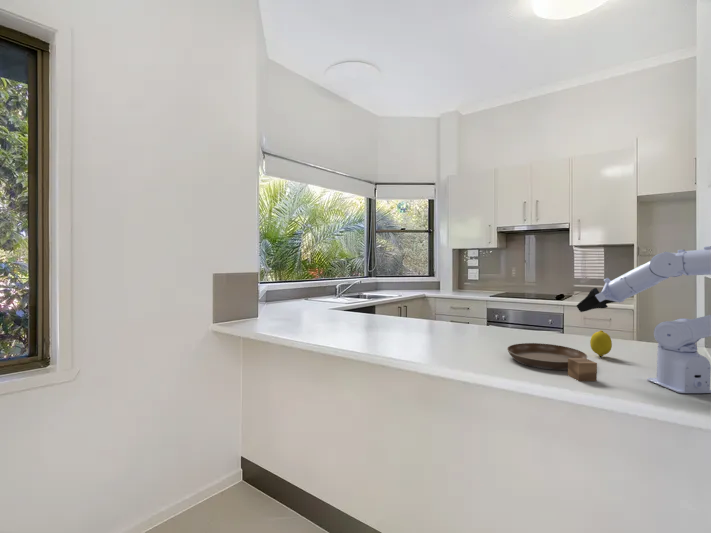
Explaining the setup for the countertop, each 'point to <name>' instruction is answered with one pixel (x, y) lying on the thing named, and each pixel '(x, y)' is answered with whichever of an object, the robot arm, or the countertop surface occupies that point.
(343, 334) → the countertop surface
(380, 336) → the countertop surface
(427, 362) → the countertop surface
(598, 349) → the lemon
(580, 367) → the walnut block
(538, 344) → the plant saucer
